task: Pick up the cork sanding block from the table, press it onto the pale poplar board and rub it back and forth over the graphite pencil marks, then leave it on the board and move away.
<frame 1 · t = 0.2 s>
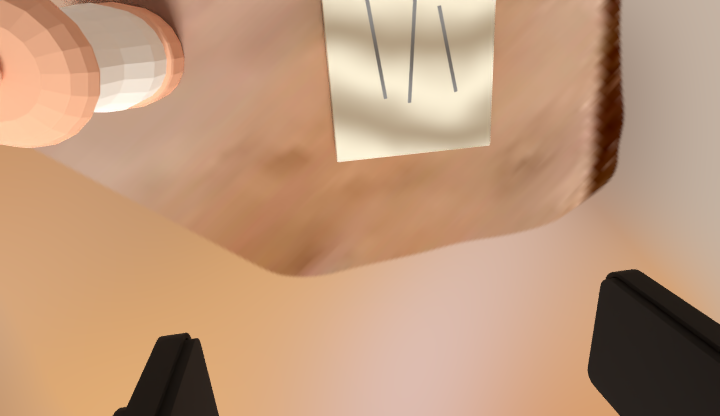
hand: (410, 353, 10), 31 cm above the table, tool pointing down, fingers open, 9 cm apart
board: (407, 33, 37), on the table
pepper shaker: (137, 55, 35), on the table
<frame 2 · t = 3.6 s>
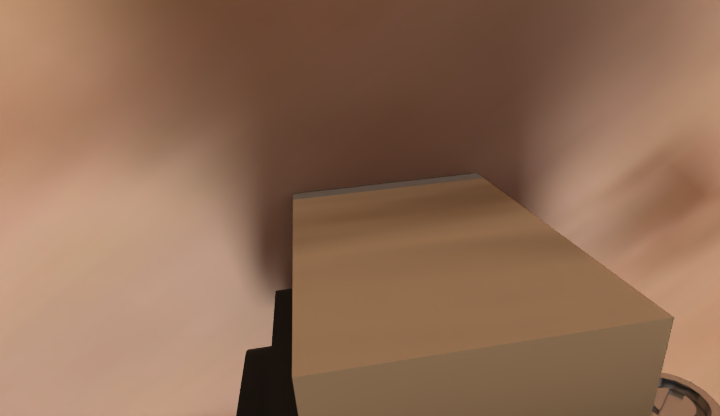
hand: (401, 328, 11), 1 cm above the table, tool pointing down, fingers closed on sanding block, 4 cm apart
sanding block: (393, 306, 12), on the table, touching gripper
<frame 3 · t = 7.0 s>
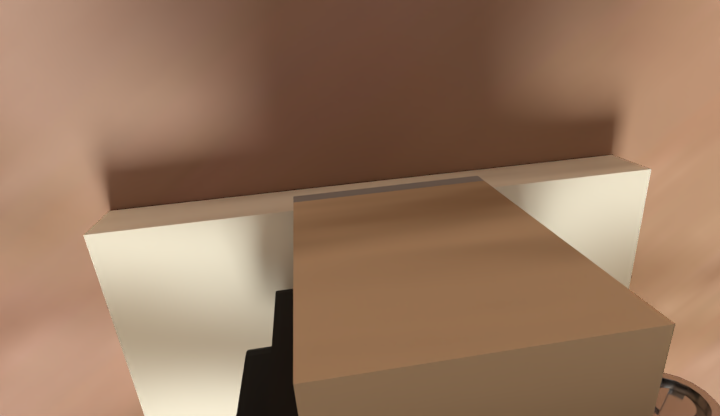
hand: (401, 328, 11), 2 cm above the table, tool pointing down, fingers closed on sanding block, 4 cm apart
sanding block: (393, 308, 12), point 2 cm above the table, touching board, gripper
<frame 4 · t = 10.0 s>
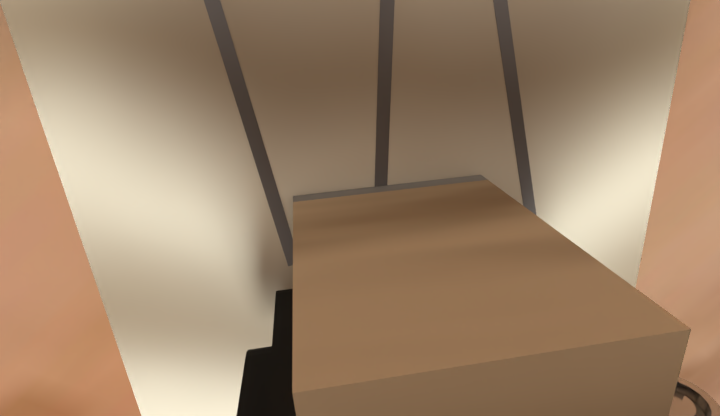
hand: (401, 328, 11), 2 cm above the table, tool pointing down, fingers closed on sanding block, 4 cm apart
board: (370, 40, 10), on the table
sanding block: (395, 309, 12), point 2 cm above the table, touching gripper
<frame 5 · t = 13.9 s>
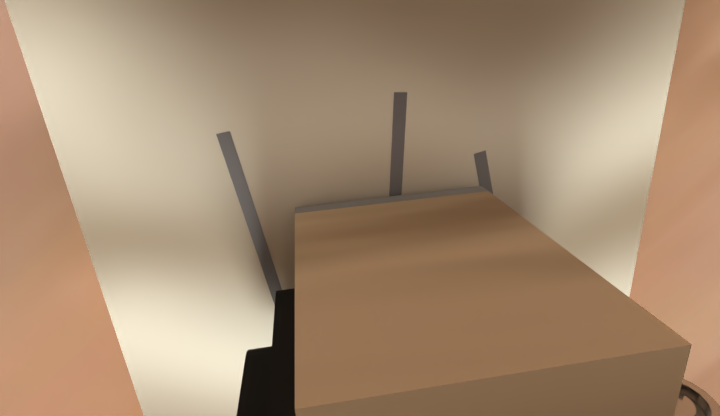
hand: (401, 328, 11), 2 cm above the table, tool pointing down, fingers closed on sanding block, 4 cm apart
board: (379, 213, 12), on the table
sanding block: (396, 320, 12), point 2 cm above the table, touching gripper
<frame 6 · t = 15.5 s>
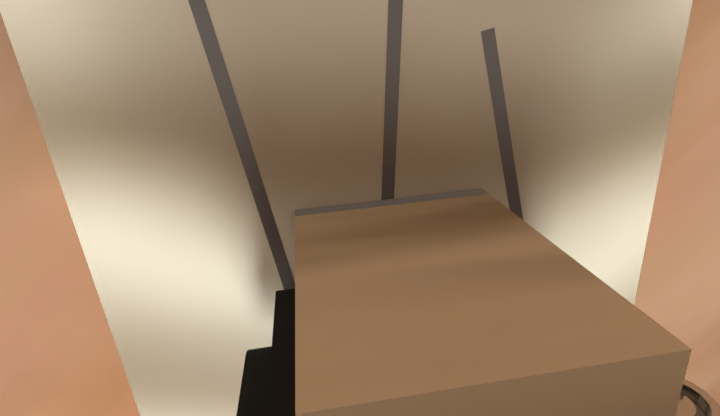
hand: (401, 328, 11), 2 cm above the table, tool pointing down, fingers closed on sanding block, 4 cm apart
board: (375, 118, 11), on the table
sanding block: (396, 322, 12), point 2 cm above the table, touching gripper
when the fingers open (2 cm above the table, at t = 16.6 s): sanding block stays where it is, resting on board.
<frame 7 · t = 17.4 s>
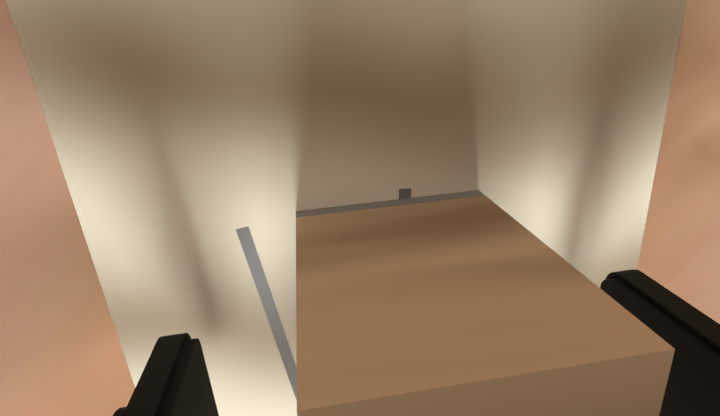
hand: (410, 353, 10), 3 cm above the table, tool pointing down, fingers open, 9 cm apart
board: (384, 283, 13), on the table
sanding block: (395, 321, 12), point 2 cm above the table, touching board
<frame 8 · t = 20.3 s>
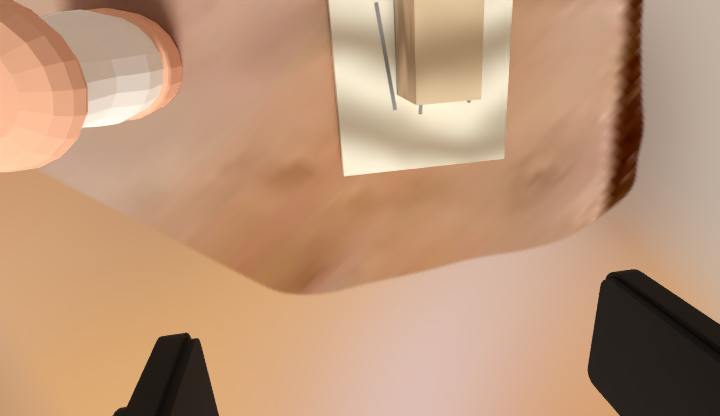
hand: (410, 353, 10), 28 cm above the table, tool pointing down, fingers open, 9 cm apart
board: (418, 41, 35), on the table
sanding block: (423, 45, 33), point 2 cm above the table, touching board
pepper shaker: (132, 64, 33), on the table
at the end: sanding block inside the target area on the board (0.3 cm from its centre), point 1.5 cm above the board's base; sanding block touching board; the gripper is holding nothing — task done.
